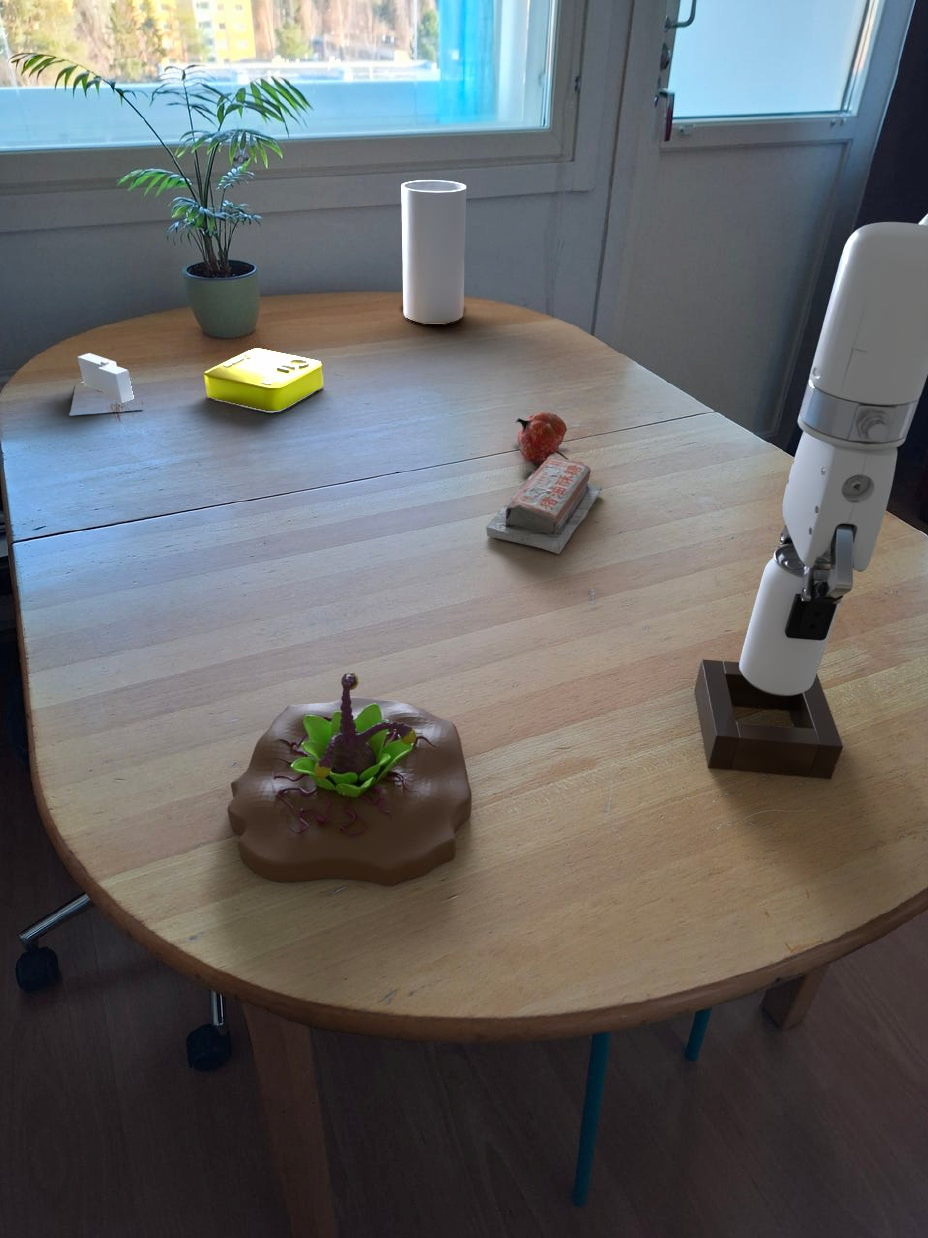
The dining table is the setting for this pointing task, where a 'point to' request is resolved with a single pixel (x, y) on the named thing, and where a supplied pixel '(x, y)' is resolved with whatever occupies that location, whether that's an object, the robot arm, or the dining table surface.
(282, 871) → the plant
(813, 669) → the can
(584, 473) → the packaged product
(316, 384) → the element tile
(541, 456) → the pomegranate
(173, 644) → the dining table surface
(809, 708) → the socket block
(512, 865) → the dining table surface
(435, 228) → the cylinder vase
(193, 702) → the dining table surface
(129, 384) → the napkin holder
